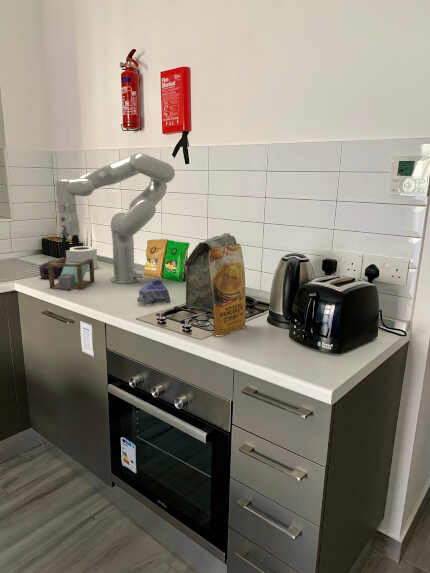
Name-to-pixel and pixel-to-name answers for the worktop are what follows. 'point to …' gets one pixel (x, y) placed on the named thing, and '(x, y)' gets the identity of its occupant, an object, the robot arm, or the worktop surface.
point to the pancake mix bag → (227, 288)
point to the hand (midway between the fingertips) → (71, 248)
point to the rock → (44, 270)
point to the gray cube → (67, 281)
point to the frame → (81, 282)
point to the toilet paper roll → (82, 255)
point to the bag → (202, 272)
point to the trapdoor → (74, 271)
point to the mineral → (153, 293)
